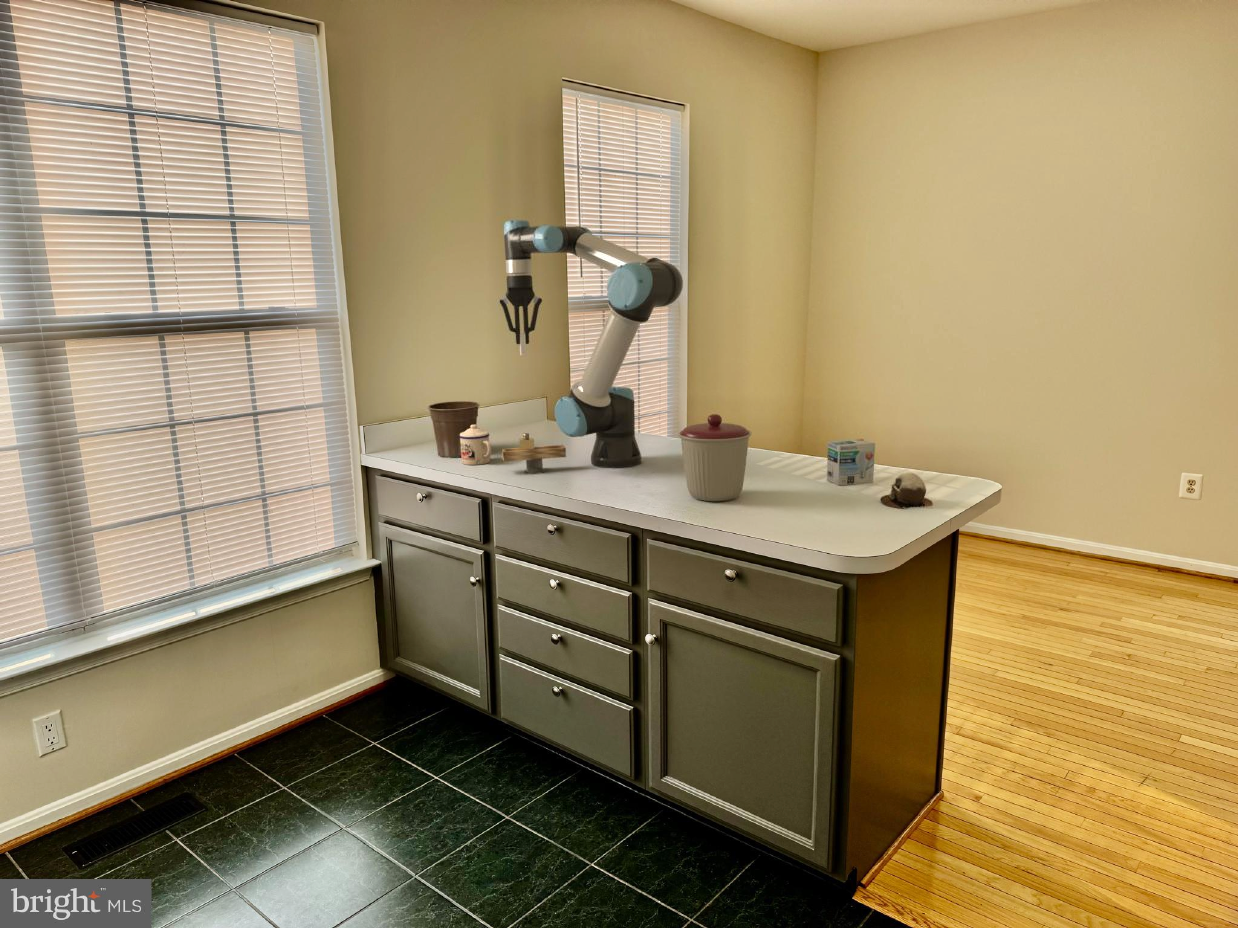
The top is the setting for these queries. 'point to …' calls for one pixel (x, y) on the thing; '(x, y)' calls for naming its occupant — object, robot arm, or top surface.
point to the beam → (534, 456)
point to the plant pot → (452, 424)
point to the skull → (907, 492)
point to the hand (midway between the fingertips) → (523, 355)
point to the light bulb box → (850, 462)
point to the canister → (714, 459)
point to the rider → (526, 442)
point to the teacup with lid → (475, 446)
